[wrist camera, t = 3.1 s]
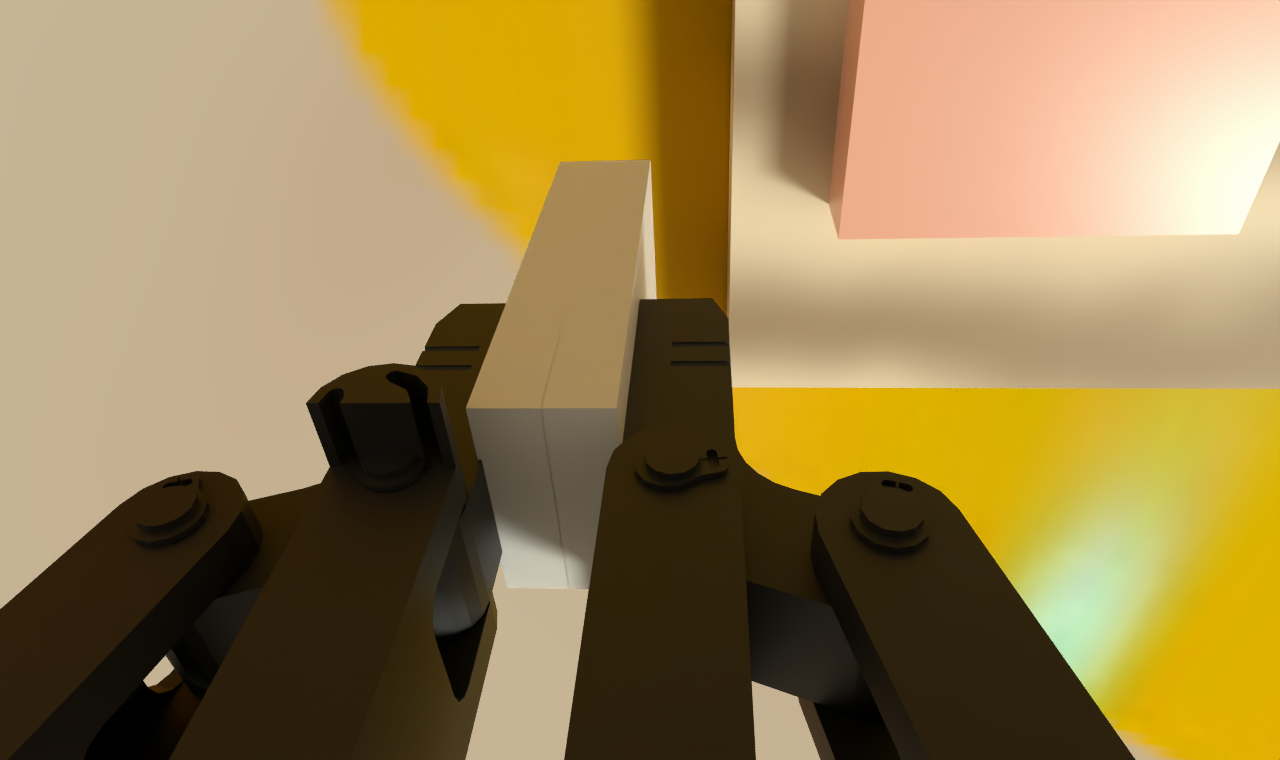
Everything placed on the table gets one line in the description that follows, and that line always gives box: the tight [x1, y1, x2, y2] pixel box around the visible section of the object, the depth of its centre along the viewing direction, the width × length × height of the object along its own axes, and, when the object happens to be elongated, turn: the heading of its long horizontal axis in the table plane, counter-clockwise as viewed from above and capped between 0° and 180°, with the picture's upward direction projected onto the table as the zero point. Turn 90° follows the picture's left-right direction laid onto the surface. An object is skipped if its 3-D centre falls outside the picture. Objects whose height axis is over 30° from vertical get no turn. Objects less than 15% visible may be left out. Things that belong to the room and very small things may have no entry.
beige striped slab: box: [727, 0, 1280, 389], centre depth 19 cm, size 18×16×3 cm
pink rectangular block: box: [829, 0, 1280, 239], centre depth 17 cm, size 9×6×2 cm, turn 93°
